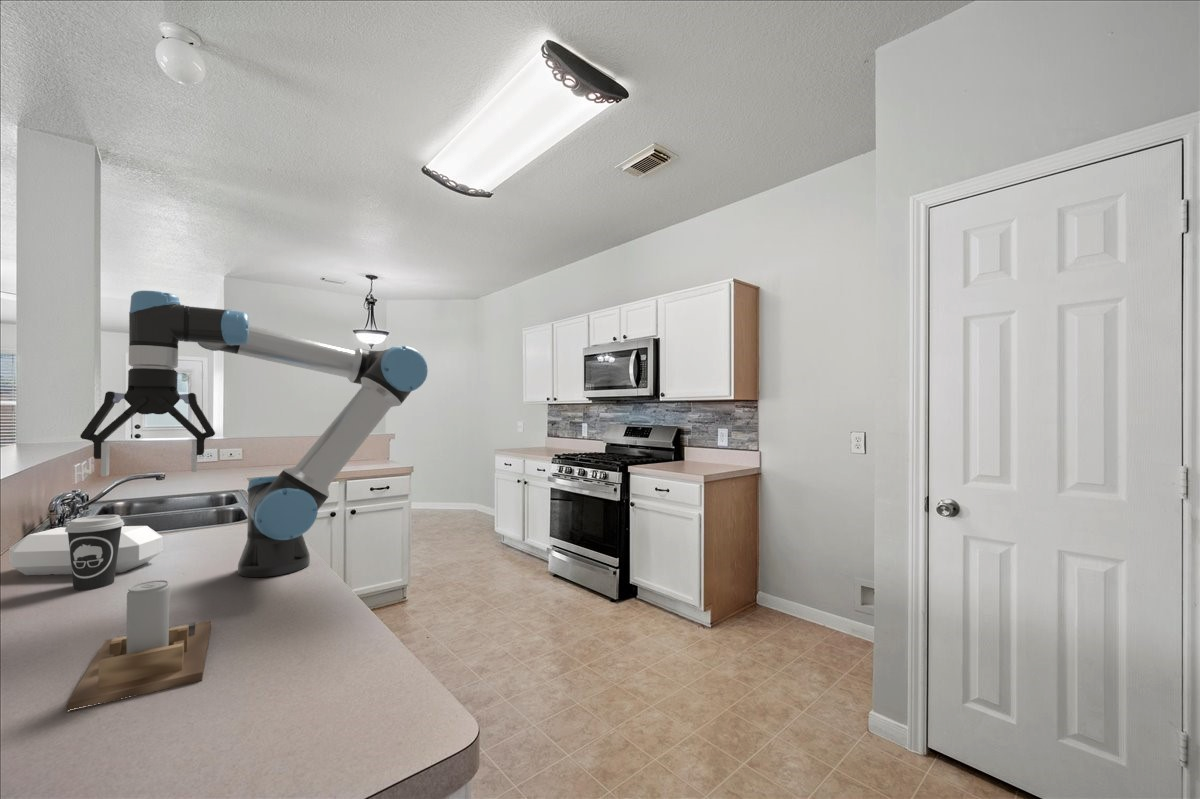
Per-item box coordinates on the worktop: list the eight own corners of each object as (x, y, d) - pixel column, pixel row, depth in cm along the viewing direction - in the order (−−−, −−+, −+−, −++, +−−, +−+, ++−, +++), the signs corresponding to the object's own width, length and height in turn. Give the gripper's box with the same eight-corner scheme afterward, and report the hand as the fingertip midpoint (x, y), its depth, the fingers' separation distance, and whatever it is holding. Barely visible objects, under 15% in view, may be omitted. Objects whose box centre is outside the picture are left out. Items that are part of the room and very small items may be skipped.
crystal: (128, 536, 120) (-6, 539, 117) (127, 576, 120) (-7, 580, 117) (172, 522, 135) (54, 524, 131) (171, 558, 134) (53, 562, 131)
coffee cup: (133, 580, 117) (134, 515, 117) (79, 595, 108) (81, 524, 108) (107, 576, 120) (108, 512, 120) (52, 589, 111) (54, 521, 111)
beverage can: (142, 675, 73) (143, 592, 74) (116, 671, 74) (118, 589, 75) (176, 659, 78) (177, 581, 78) (152, 655, 79) (153, 578, 79)
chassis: (211, 627, 93) (211, 601, 93) (202, 680, 74) (202, 648, 75) (105, 647, 85) (106, 618, 85) (66, 712, 66) (67, 676, 67)
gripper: (230, 372, 113) (228, 467, 113) (72, 366, 99) (69, 475, 98) (229, 370, 107) (227, 471, 106) (60, 363, 93) (57, 480, 92)
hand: (151, 473), depth 102 cm, fingers open, 13 cm apart
